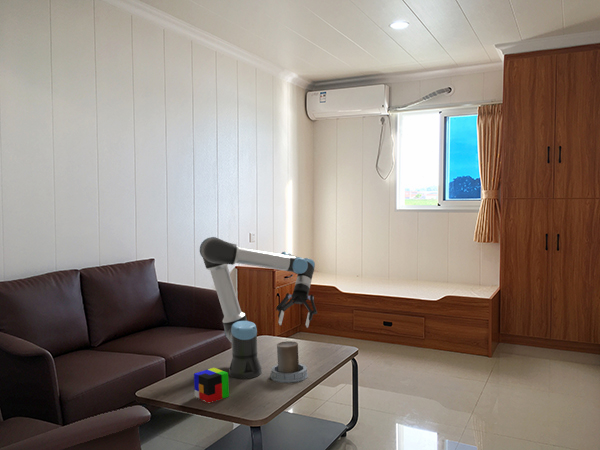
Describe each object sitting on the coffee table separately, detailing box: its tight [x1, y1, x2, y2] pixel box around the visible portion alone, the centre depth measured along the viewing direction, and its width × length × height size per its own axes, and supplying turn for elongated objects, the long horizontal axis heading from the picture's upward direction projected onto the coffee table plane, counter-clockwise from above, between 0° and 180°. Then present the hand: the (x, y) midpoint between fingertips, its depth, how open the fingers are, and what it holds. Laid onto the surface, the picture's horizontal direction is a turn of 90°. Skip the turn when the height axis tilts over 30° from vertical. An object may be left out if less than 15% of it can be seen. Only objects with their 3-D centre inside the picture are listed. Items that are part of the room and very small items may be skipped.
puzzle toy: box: [193, 367, 230, 403], centre depth 210 cm, size 10×10×10 cm
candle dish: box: [269, 363, 309, 384], centre depth 232 cm, size 17×17×4 cm
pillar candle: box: [276, 340, 300, 373], centre depth 232 cm, size 10×10×15 cm
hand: (293, 325), depth 242 cm, fingers open, 13 cm apart
